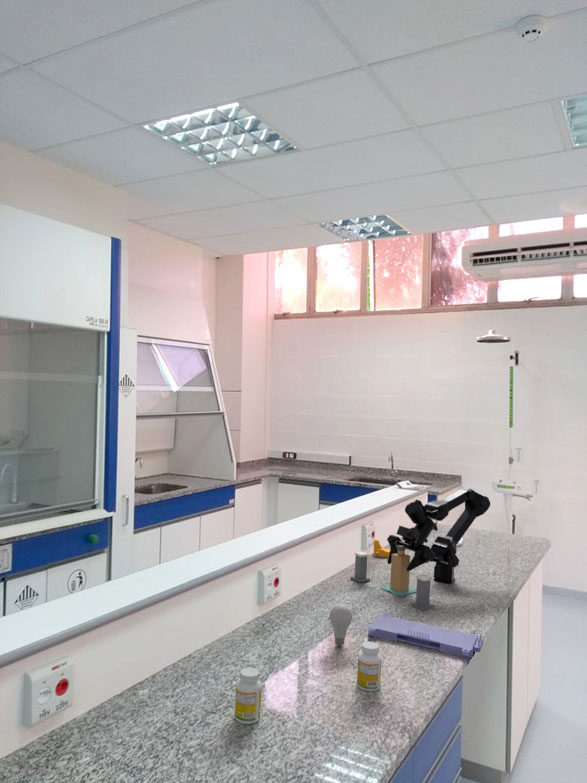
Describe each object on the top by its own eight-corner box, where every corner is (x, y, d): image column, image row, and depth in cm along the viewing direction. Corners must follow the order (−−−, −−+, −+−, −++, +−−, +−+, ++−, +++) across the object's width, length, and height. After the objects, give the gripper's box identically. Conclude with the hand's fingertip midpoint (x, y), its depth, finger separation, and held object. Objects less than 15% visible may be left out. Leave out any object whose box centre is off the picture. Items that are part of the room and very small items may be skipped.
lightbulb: (353, 643, 163) (354, 603, 163) (347, 652, 157) (349, 611, 157) (331, 639, 165) (333, 599, 165) (325, 648, 159) (327, 607, 159)
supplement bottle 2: (365, 678, 144) (366, 638, 144) (384, 686, 140) (386, 645, 140) (352, 686, 140) (354, 644, 140) (372, 694, 136) (374, 652, 136)
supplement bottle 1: (247, 728, 121) (249, 680, 121) (229, 717, 124) (231, 671, 124) (265, 717, 125) (267, 671, 125) (247, 708, 128) (249, 663, 128)
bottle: (399, 586, 212) (401, 544, 212) (408, 590, 208) (410, 547, 208) (390, 588, 210) (392, 545, 210) (399, 592, 206) (401, 548, 206)
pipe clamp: (373, 556, 251) (374, 541, 251) (373, 553, 255) (374, 538, 255) (402, 558, 250) (403, 543, 250) (401, 555, 254) (402, 540, 254)
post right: (360, 577, 222) (362, 550, 222) (370, 580, 218) (371, 554, 218) (350, 579, 219) (351, 552, 219) (359, 583, 215) (361, 555, 215)
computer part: (476, 664, 155) (484, 643, 168) (476, 648, 155) (485, 628, 168) (365, 638, 168) (381, 621, 181) (366, 623, 168) (382, 607, 181)
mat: (399, 584, 215) (399, 583, 215) (417, 592, 208) (417, 591, 208) (380, 588, 210) (381, 587, 210) (399, 596, 203) (399, 595, 203)
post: (421, 602, 198) (423, 573, 198) (433, 607, 194) (435, 577, 193) (411, 605, 195) (412, 575, 195) (423, 610, 191) (424, 579, 191)
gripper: (391, 512, 219) (367, 546, 212) (430, 523, 204) (406, 559, 197) (405, 531, 223) (383, 565, 217) (445, 543, 208) (421, 580, 202)
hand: (397, 567), depth 208 cm, fingers open, 9 cm apart
